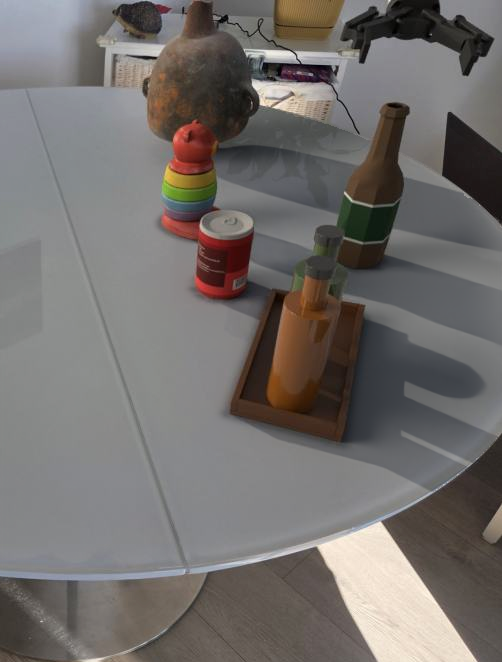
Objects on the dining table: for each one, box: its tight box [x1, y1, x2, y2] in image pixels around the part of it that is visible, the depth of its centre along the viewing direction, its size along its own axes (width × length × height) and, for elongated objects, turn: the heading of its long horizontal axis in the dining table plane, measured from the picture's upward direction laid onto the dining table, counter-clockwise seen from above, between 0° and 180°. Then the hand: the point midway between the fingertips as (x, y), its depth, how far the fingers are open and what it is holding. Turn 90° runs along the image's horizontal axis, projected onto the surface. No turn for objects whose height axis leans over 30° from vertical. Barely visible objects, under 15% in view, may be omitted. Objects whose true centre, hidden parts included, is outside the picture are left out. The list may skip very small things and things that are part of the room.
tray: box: [228, 287, 366, 443], centre depth 83 cm, size 13×26×2 cm, turn 154°
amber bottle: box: [266, 255, 341, 414], centre depth 72 cm, size 6×6×19 cm
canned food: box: [194, 209, 255, 300], centre depth 95 cm, size 8×8×11 cm
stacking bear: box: [161, 120, 222, 241], centre depth 109 cm, size 11×10×18 cm
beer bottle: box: [335, 101, 411, 270], centre depth 94 cm, size 8×8×24 cm
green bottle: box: [289, 224, 349, 305], centre depth 77 cm, size 6×6×19 cm
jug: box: [141, 0, 261, 144], centre depth 131 cm, size 24×21×30 cm
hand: (416, 60), depth 89 cm, fingers open, 13 cm apart
